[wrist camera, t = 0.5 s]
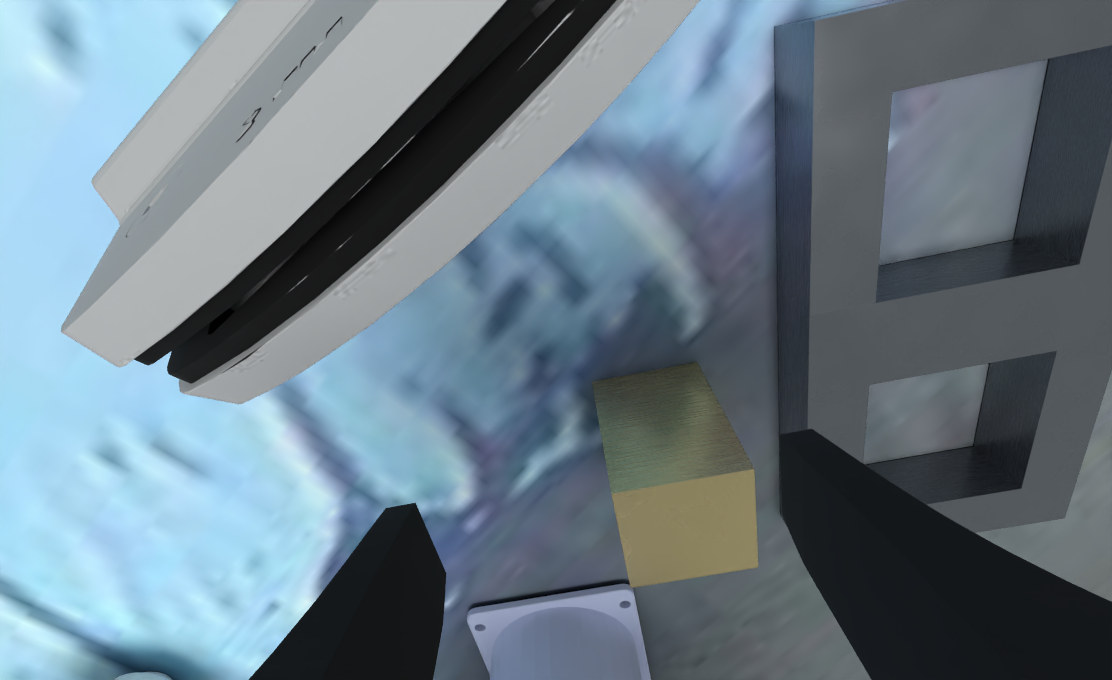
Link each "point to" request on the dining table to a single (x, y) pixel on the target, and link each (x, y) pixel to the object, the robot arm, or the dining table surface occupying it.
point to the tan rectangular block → (676, 476)
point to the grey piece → (337, 170)
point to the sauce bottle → (144, 676)
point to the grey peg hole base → (956, 277)
